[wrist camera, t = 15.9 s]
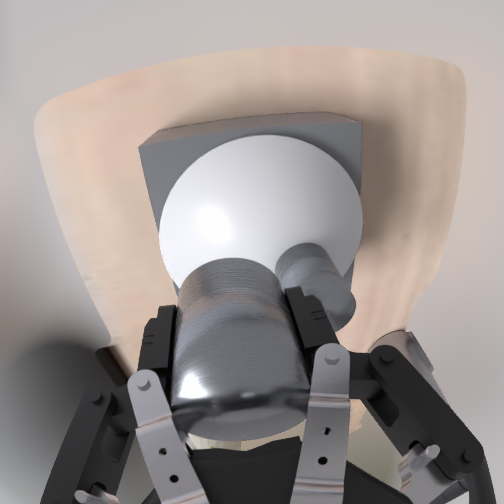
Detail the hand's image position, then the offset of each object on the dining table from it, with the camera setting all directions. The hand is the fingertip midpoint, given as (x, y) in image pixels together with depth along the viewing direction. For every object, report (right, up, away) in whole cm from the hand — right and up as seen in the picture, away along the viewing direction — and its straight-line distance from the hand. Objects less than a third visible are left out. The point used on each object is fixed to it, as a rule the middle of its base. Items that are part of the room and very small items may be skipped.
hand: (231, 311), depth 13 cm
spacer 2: (+5, +1, +12) cm, 13 cm away
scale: (+1, +8, +18) cm, 20 cm away
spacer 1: (0, 0, +1) cm, 1 cm away
